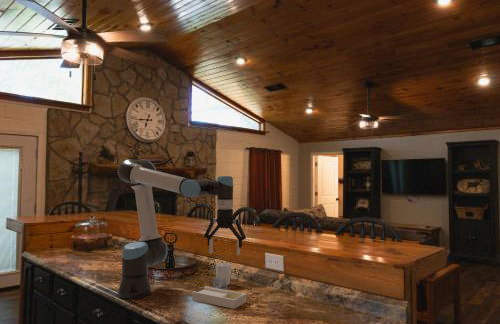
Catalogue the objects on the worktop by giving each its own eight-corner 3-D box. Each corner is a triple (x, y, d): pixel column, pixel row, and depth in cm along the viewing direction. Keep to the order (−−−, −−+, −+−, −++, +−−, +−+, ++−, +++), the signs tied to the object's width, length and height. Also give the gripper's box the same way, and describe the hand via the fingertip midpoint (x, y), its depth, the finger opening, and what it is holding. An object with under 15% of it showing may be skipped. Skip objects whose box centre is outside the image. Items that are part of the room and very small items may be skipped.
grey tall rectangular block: (211, 293, 178) (211, 289, 179) (221, 289, 185) (221, 285, 185) (217, 294, 177) (218, 290, 177) (227, 290, 184) (227, 286, 184)
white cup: (213, 285, 192) (213, 265, 192) (219, 281, 199) (219, 262, 200) (227, 286, 189) (227, 266, 190) (233, 282, 197) (233, 263, 197)
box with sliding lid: (192, 299, 169) (192, 291, 169) (205, 293, 178) (205, 286, 178) (234, 308, 158) (234, 300, 158) (246, 302, 167) (246, 293, 167)
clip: (213, 288, 180) (213, 278, 180) (218, 285, 184) (218, 276, 184) (220, 289, 178) (220, 280, 178) (226, 287, 182) (226, 277, 182)
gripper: (197, 208, 177) (196, 253, 176) (248, 210, 171) (248, 257, 170) (203, 207, 184) (203, 250, 184) (252, 208, 178) (252, 253, 177)
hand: (224, 253), depth 177 cm, fingers open, 13 cm apart
